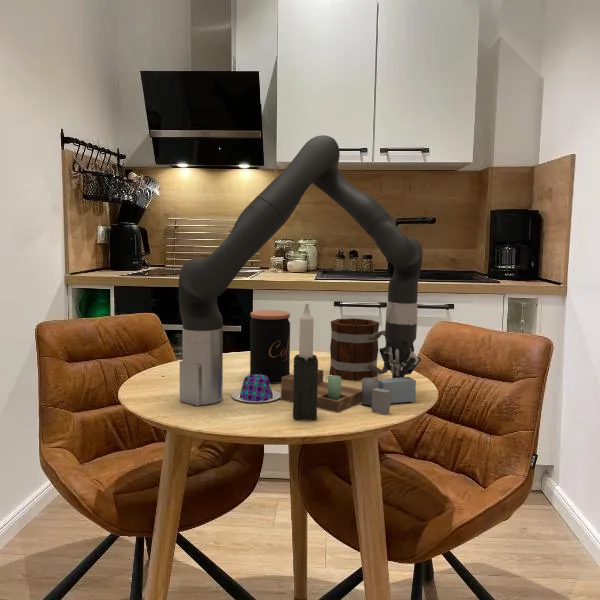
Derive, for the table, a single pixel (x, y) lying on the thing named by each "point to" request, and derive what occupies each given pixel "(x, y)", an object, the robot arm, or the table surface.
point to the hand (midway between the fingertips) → (397, 389)
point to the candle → (305, 372)
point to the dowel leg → (334, 387)
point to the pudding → (256, 389)
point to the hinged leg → (398, 387)
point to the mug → (355, 349)
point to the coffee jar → (270, 344)
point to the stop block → (381, 400)
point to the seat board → (323, 394)
